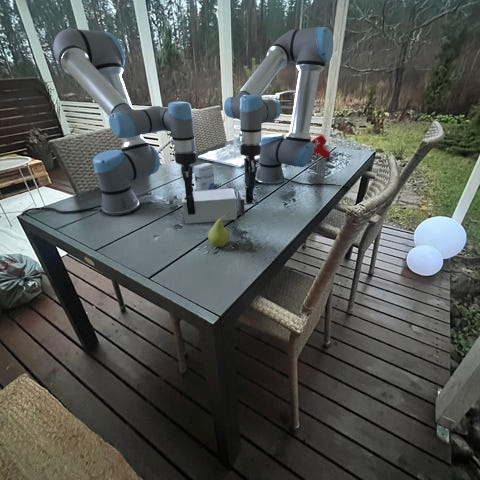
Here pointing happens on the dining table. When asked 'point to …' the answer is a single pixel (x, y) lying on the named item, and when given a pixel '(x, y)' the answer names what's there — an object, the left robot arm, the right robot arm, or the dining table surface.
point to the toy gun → (320, 146)
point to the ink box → (204, 176)
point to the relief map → (226, 156)
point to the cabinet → (211, 206)
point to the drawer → (242, 202)
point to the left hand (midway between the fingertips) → (191, 207)
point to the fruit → (218, 234)
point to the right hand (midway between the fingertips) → (249, 202)
